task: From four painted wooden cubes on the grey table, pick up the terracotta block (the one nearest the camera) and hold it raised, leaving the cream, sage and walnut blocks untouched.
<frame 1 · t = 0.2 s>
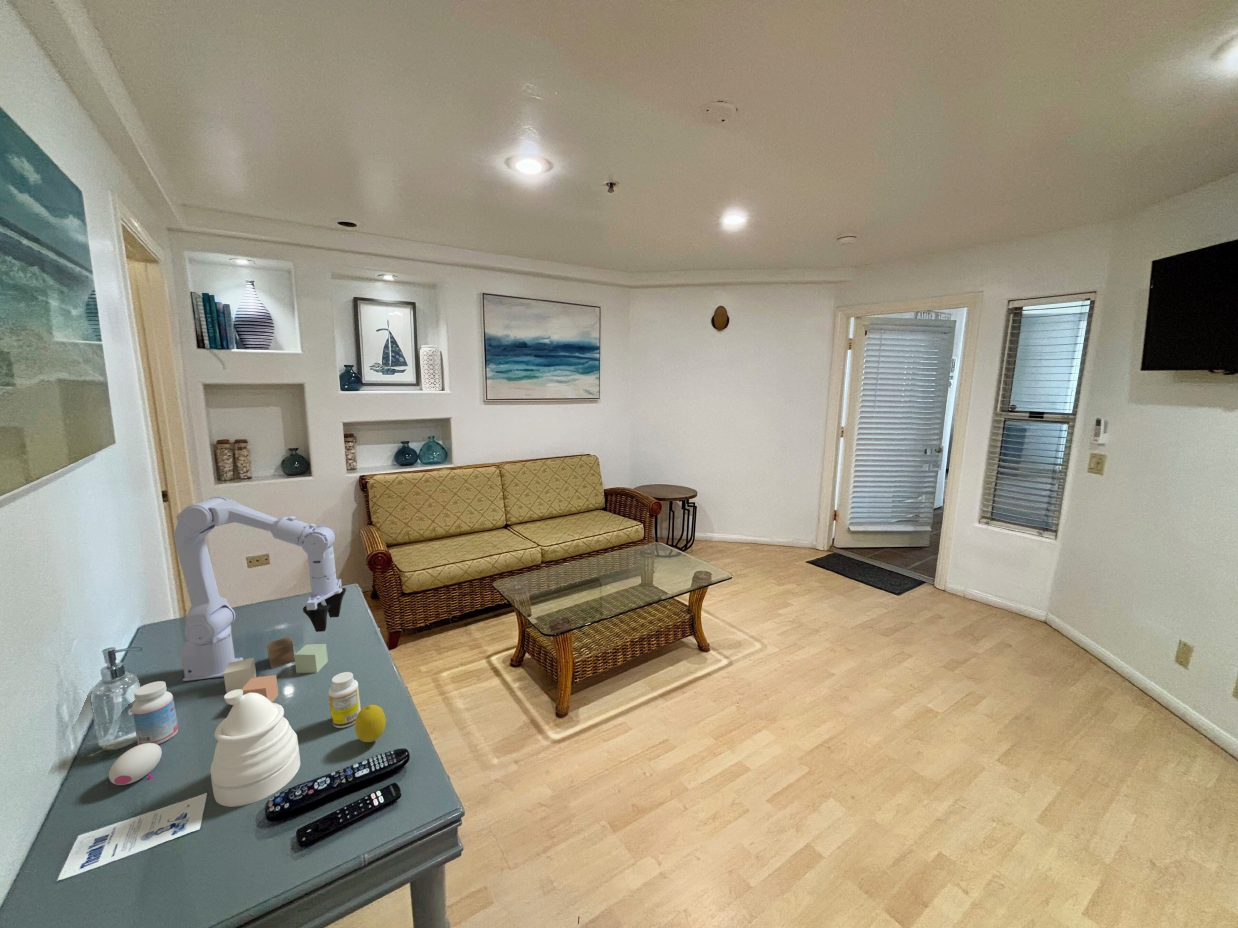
hand: (327, 623, 126), 10 cm above the table, fingers open, 7 cm apart
pill bottle: (159, 738, 99), on the table
walnut block: (281, 661, 127), on the table
cream block: (241, 684, 117), on the table
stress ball: (135, 777, 89), on the table
lemon: (372, 742, 98), on the table
supplement bottle: (347, 721, 104), on the table
sage block: (312, 667, 124), on the table
terracotta block: (261, 702, 110), on the table
honey pot: (259, 777, 89), on the table
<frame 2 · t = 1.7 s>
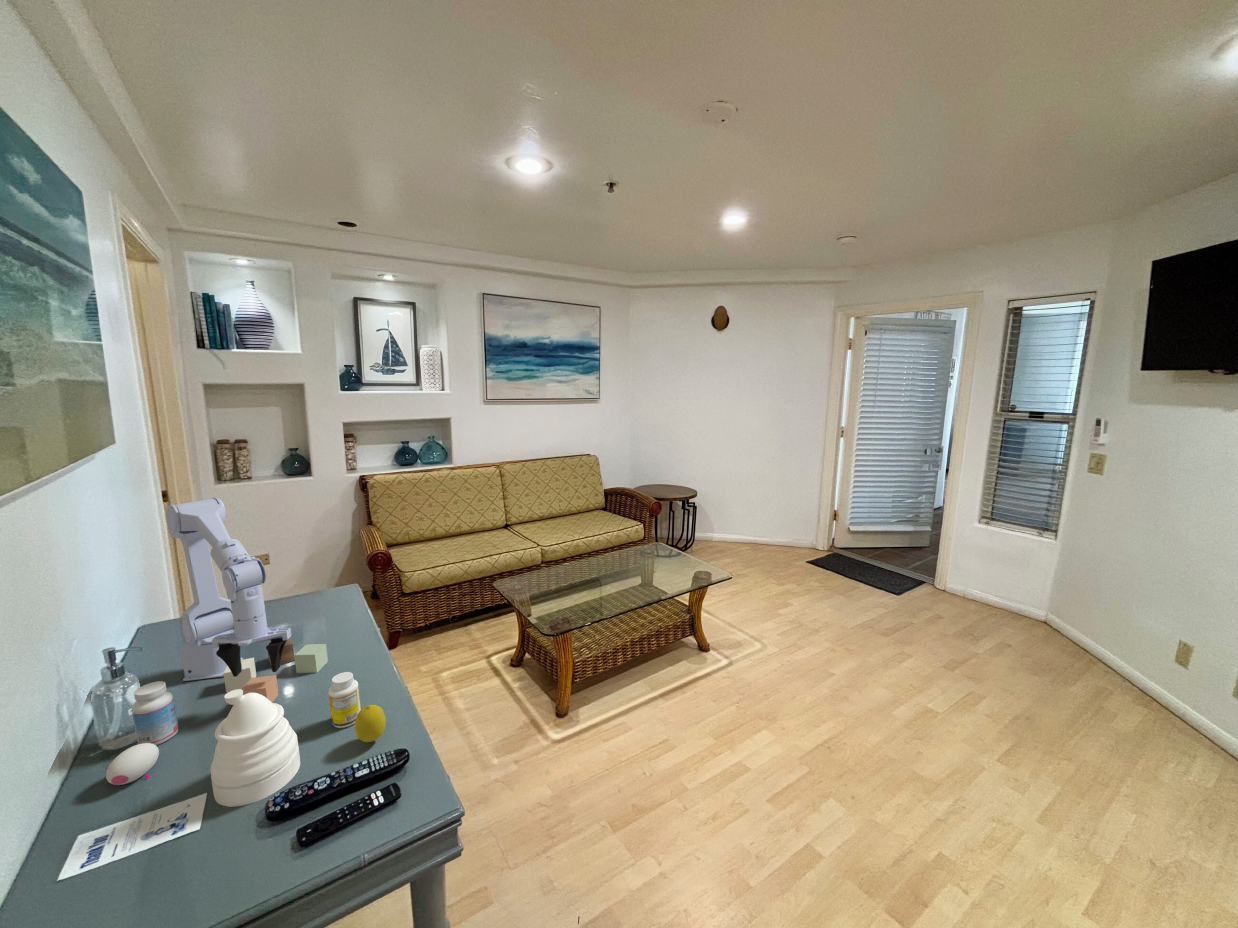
hand: (257, 671, 109), 8 cm above the table, fingers open, 7 cm apart
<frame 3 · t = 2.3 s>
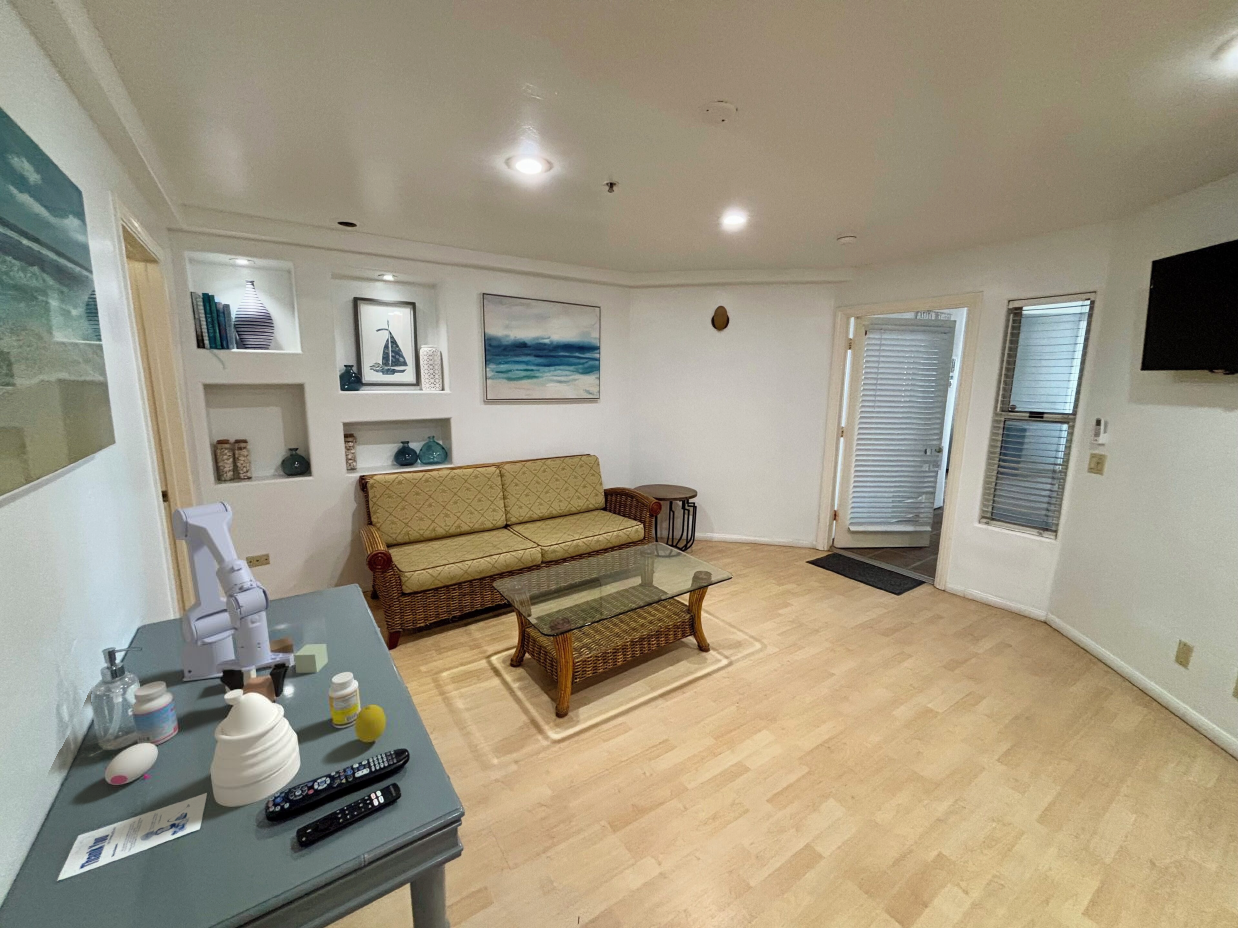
hand: (260, 696, 110), 1 cm above the table, fingers open, 7 cm apart
nothing on the table moved.
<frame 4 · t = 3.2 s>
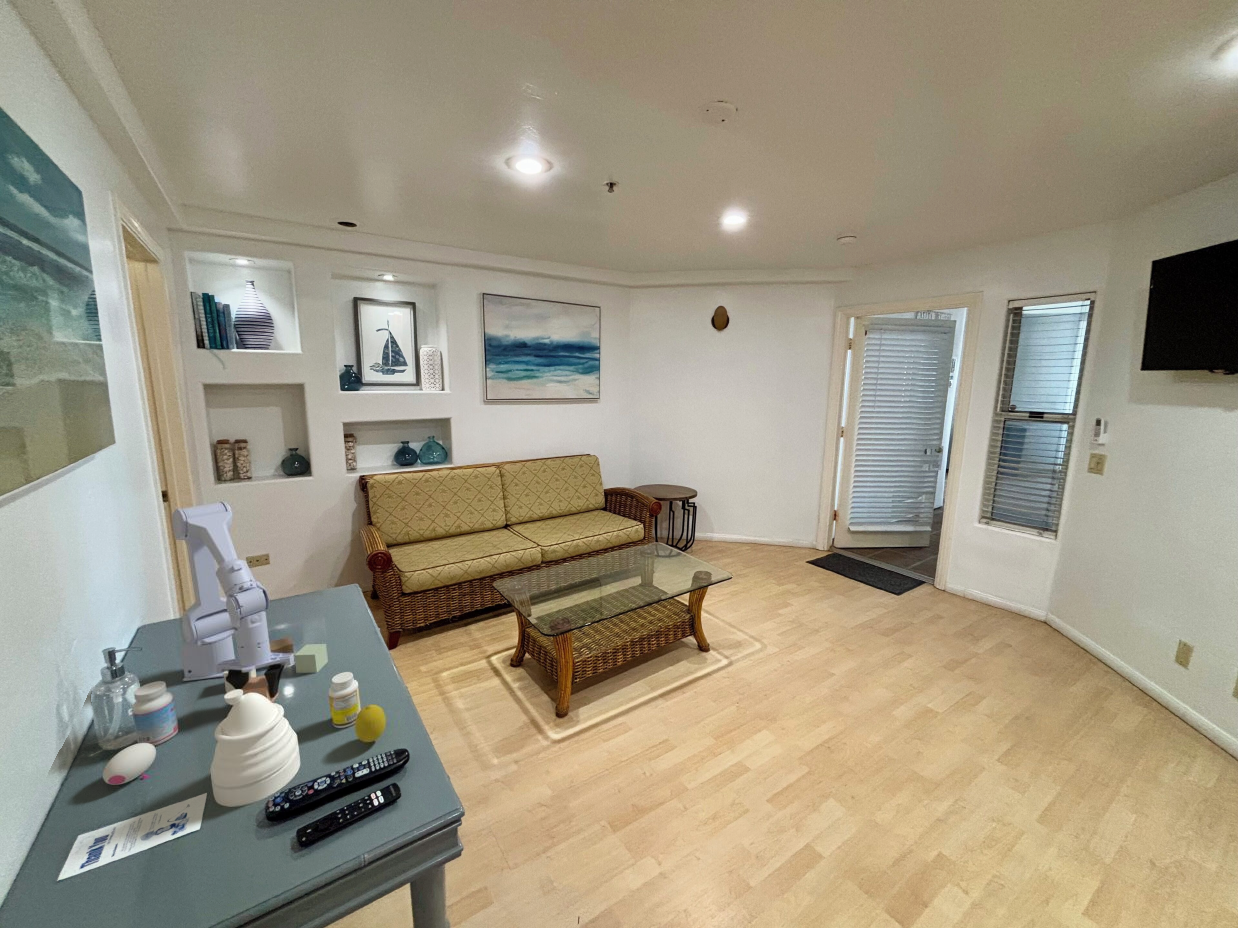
hand: (260, 696, 110), 1 cm above the table, fingers closed on terracotta block, 5 cm apart
terracotta block: (261, 702, 110), on the table, touching gripper
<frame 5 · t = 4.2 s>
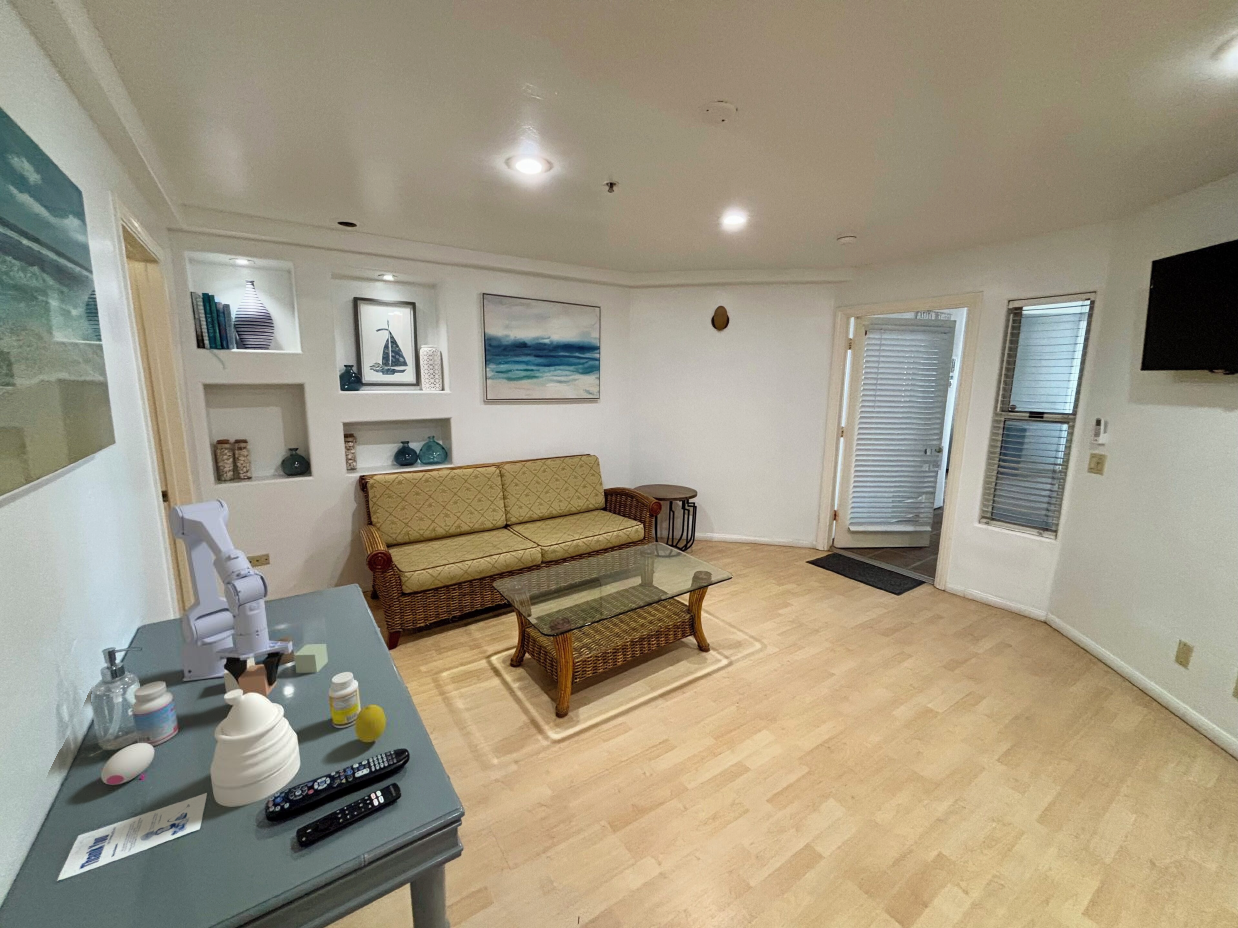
hand: (258, 684, 110), 4 cm above the table, fingers closed on terracotta block, 5 cm apart
terracotta block: (259, 690, 110), point 3 cm above the table, touching gripper
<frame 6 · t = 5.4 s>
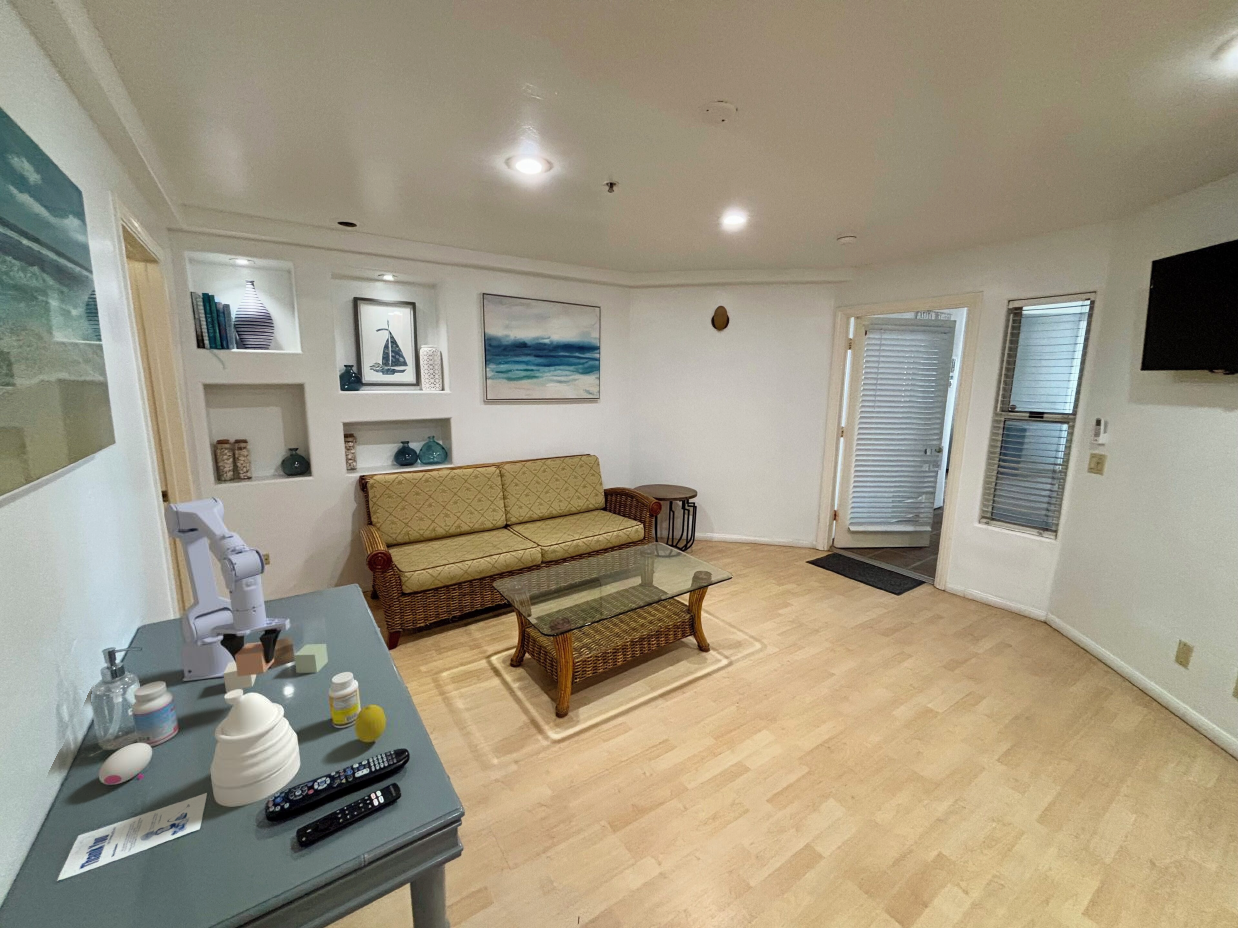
hand: (255, 662, 109), 10 cm above the table, fingers closed on terracotta block, 5 cm apart
terracotta block: (256, 668, 109), point 8 cm above the table, touching gripper
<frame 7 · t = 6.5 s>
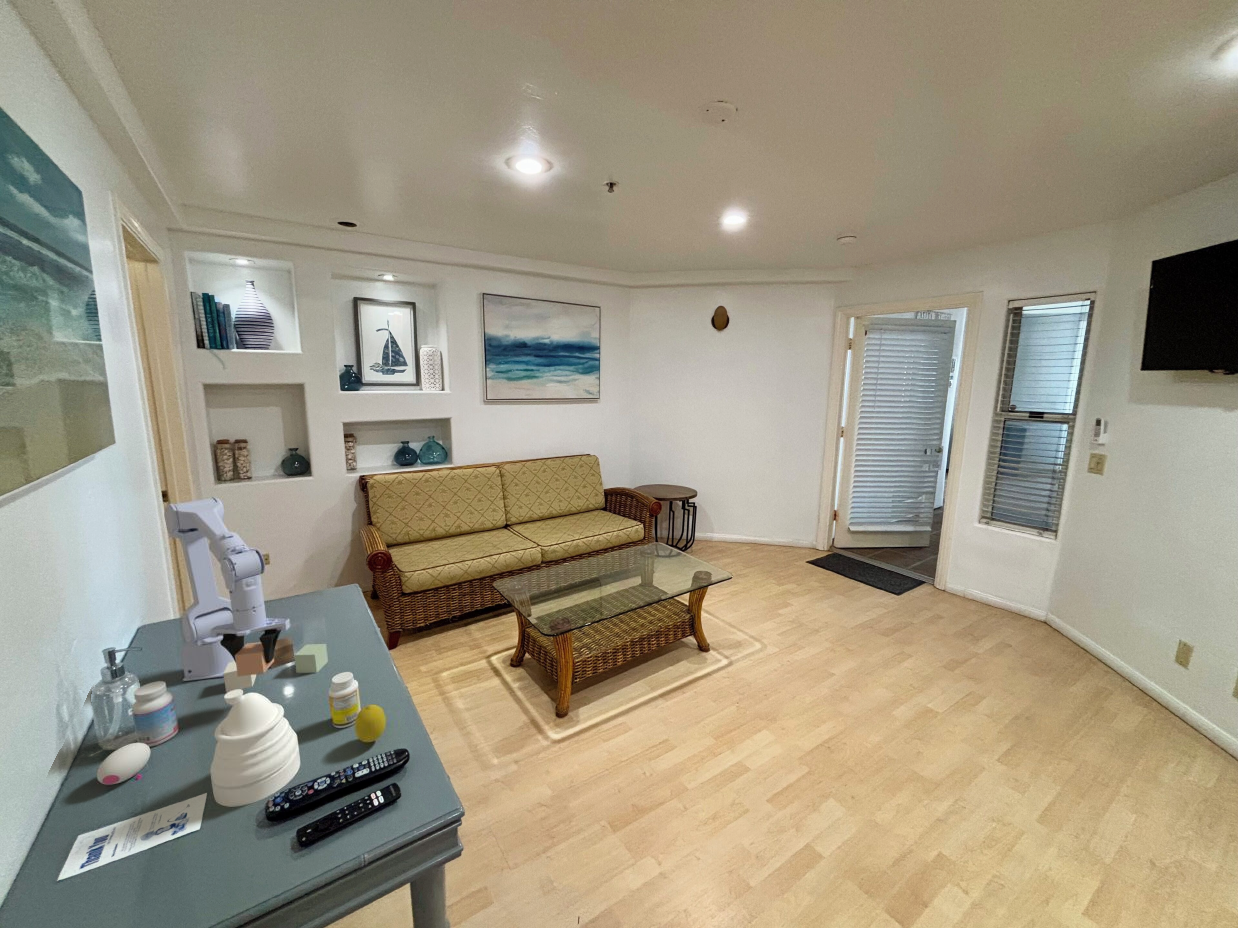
hand: (255, 662, 109), 10 cm above the table, fingers closed on terracotta block, 5 cm apart
terracotta block: (256, 668, 109), point 8 cm above the table, touching gripper
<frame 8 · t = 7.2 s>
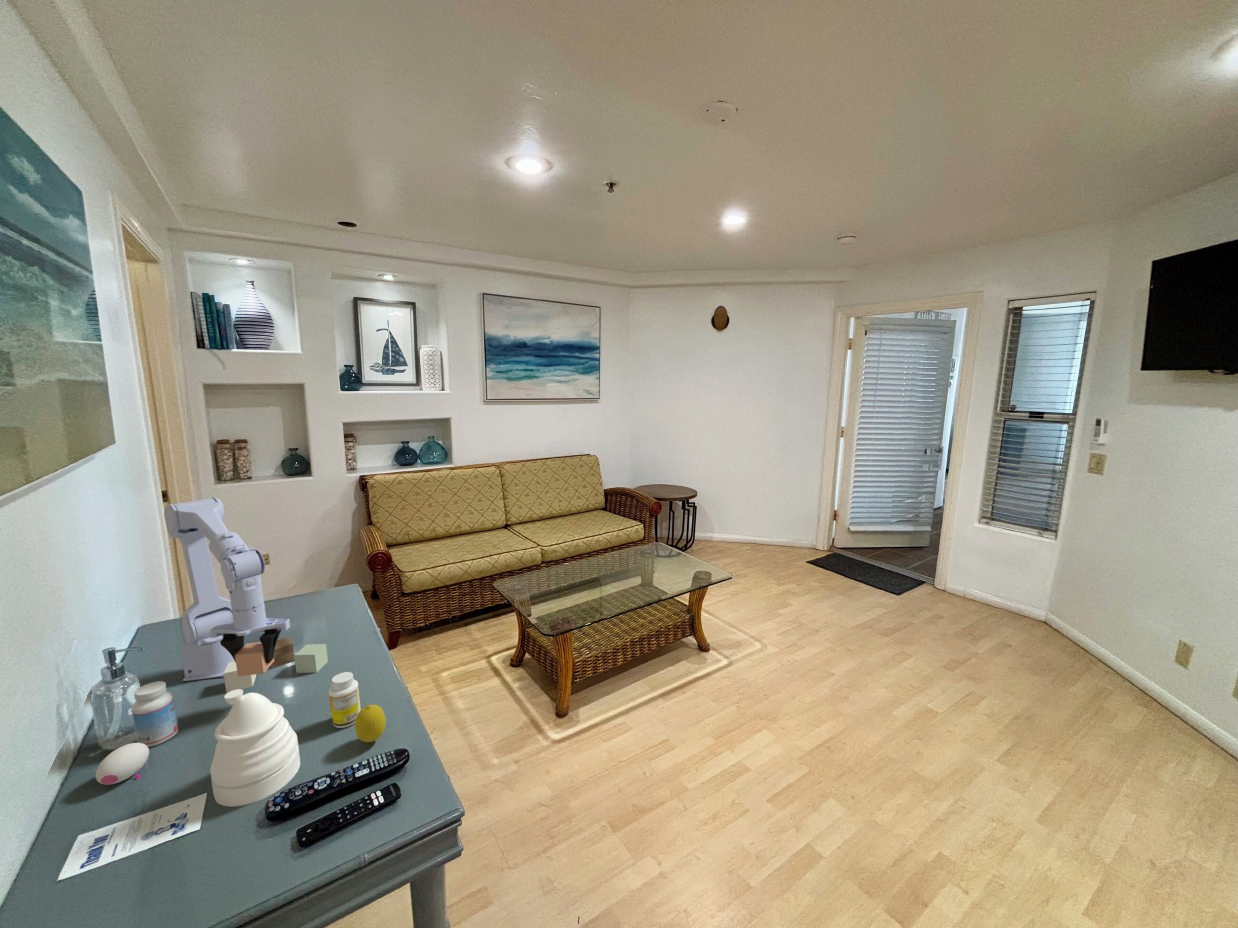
hand: (255, 662, 109), 10 cm above the table, fingers closed on terracotta block, 5 cm apart
terracotta block: (256, 668, 109), point 8 cm above the table, touching gripper
at the end: the gripper is holding terracotta block; terracotta block point 8.4 cm above the table; cream block moved 0.1 cm from its start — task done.
